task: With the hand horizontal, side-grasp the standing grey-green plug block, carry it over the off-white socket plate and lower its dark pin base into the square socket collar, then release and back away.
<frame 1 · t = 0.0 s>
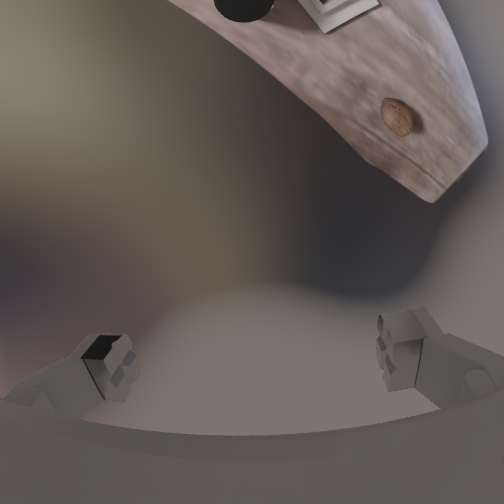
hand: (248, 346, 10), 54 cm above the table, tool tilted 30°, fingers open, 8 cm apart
mushroom: (388, 106, 55), on the table
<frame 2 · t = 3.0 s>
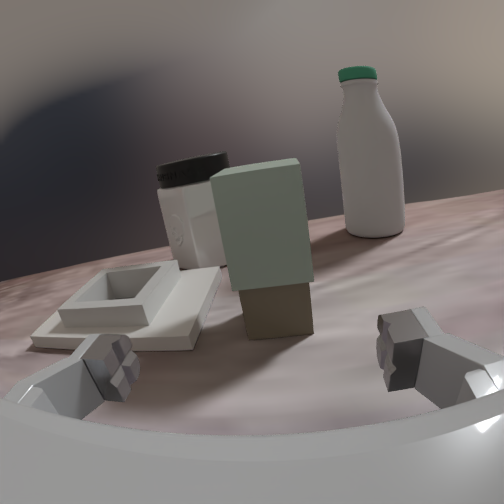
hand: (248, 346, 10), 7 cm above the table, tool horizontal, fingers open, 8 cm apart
socket: (128, 312, 28), on the table
plug: (281, 319, 23), on the table
milk bottle: (375, 230, 38), on the table
jar: (212, 259, 38), on the table
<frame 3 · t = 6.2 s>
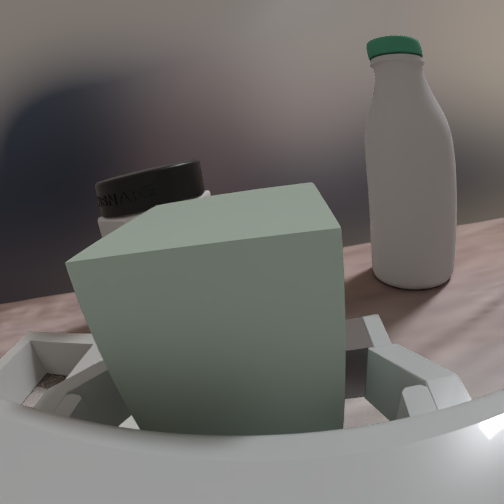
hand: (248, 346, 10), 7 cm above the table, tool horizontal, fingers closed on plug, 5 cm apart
socket: (54, 406, 16), on the table
plug: (271, 475, 11), on the table, touching gripper
milk bottle: (412, 274, 26), on the table
jar: (181, 314, 26), on the table
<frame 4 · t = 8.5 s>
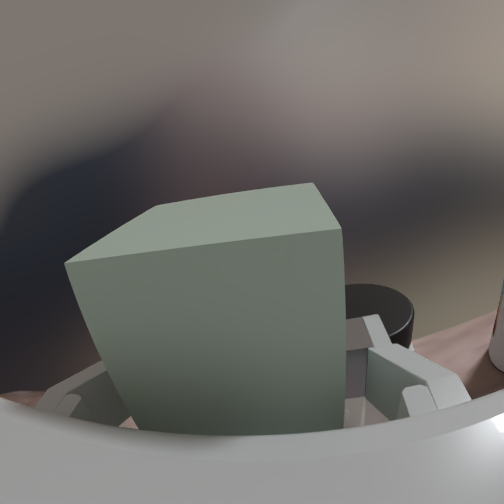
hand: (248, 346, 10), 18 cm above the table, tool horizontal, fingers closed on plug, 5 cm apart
plug: (271, 475, 11), point 11 cm above the table, touching gripper
jar: (354, 419, 25), on the table
when the fingers open (8 cm above the table, at t = 11.2 s): plug drops 1 cm, resting in socket.
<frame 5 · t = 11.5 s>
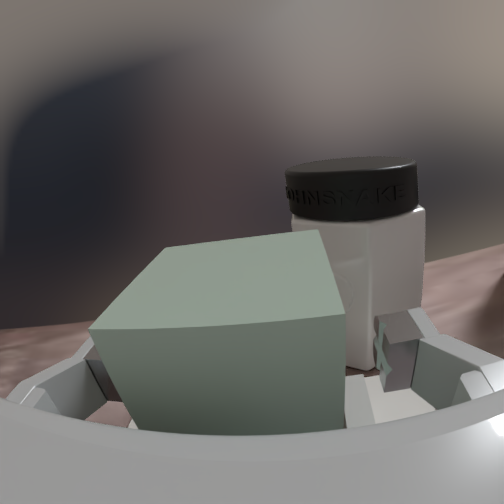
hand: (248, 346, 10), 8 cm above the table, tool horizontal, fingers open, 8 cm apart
socket: (274, 488, 11), on the table
plug: (274, 489, 11), resting in socket
jar: (358, 334, 22), on the table
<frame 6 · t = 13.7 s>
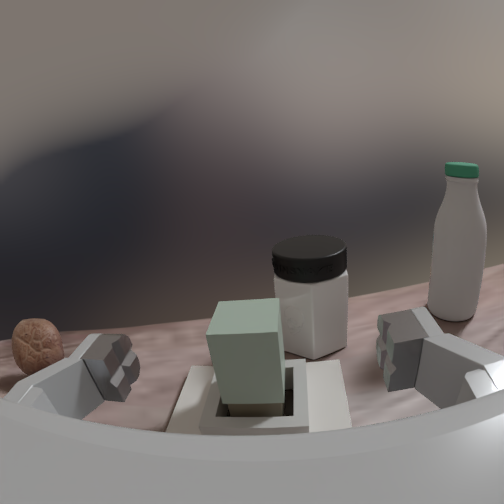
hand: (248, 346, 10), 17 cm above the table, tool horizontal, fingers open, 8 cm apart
socket: (260, 412, 27), on the table
plug: (260, 413, 27), resting in socket
milk bottle: (451, 310, 38), on the table
mushroom: (51, 376, 34), on the table
jar: (313, 339, 38), on the table
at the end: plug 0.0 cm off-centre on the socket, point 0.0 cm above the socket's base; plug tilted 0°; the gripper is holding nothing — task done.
